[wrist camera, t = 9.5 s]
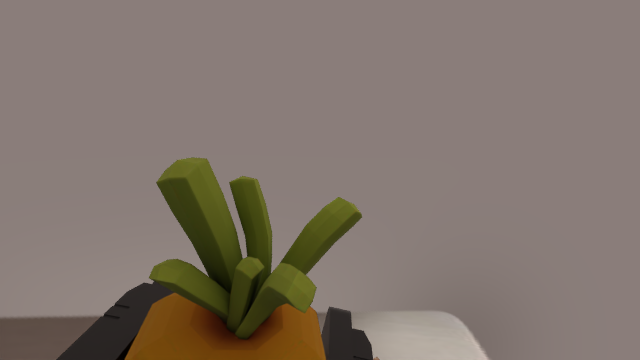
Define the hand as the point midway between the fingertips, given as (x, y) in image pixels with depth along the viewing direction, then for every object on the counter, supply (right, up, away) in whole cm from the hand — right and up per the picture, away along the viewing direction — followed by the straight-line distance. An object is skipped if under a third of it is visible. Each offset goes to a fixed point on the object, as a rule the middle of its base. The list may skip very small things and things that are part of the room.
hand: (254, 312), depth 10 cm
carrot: (-2, -9, 0) cm, 10 cm away
